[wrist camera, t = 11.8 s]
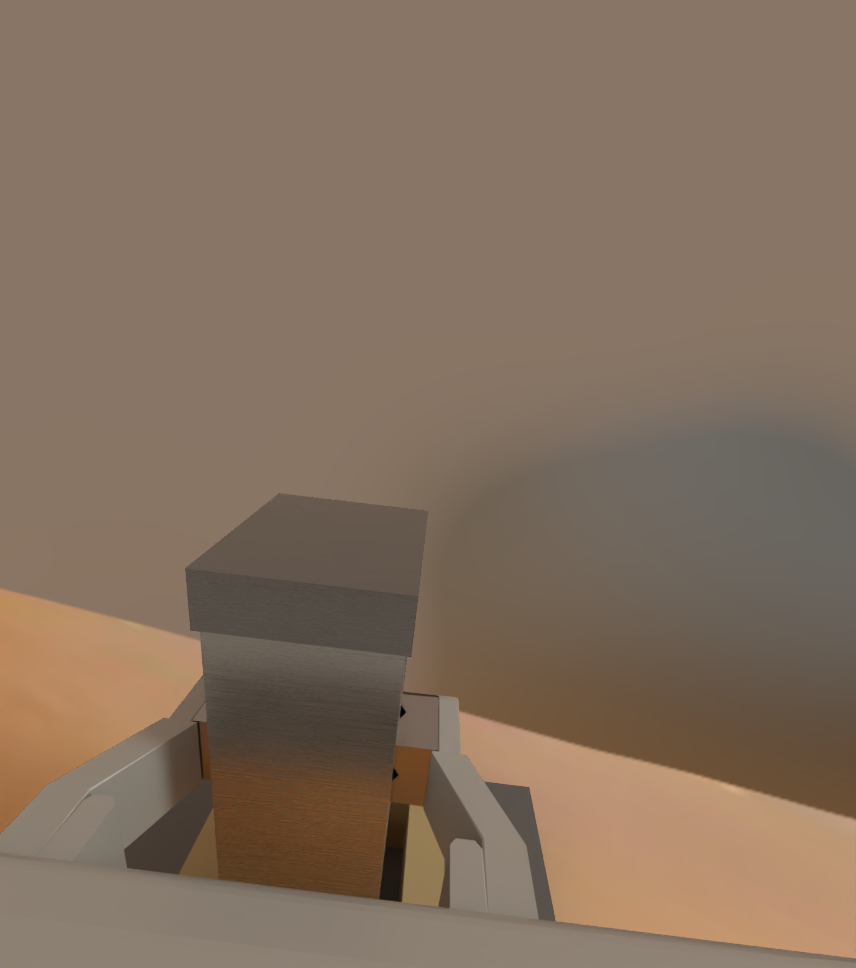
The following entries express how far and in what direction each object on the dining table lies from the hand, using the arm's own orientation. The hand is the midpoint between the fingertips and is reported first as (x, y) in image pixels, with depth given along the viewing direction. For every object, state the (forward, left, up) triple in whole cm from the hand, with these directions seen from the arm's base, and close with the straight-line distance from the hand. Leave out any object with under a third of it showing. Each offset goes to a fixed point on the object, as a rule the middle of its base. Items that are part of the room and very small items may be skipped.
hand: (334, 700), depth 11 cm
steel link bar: (0, -1, -7) cm, 7 cm away
